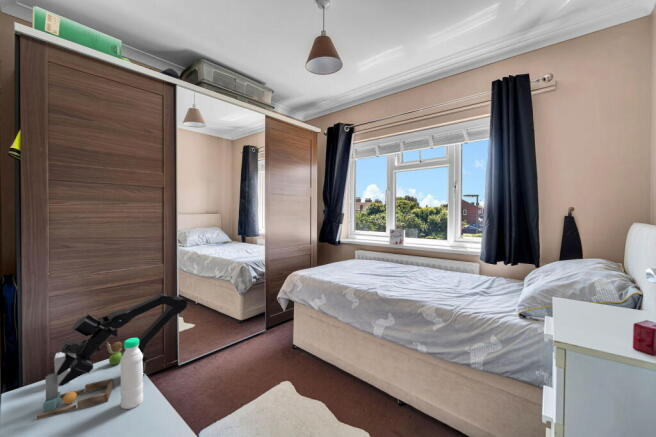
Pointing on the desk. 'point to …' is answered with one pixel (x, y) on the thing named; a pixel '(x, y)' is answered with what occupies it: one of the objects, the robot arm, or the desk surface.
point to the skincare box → (58, 362)
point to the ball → (69, 397)
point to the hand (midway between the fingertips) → (58, 380)
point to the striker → (51, 393)
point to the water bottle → (131, 374)
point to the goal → (85, 401)
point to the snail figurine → (115, 352)
